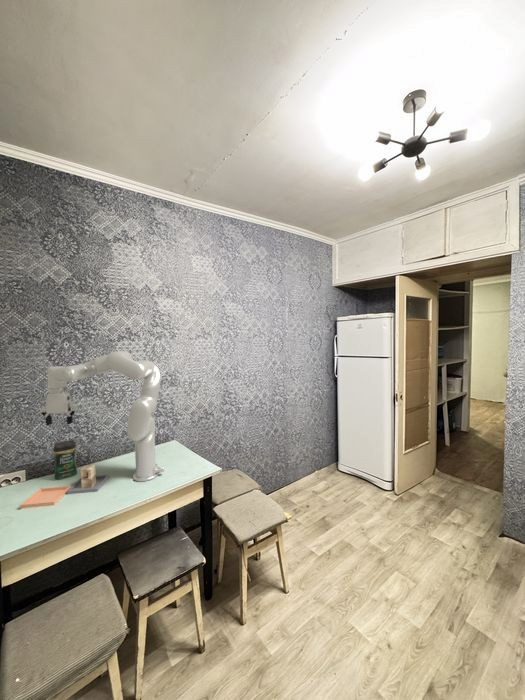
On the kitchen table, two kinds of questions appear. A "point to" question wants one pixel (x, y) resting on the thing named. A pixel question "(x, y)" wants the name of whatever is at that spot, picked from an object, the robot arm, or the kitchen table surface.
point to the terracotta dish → (45, 497)
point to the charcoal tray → (78, 488)
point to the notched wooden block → (88, 476)
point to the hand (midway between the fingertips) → (59, 424)
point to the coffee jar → (65, 459)
